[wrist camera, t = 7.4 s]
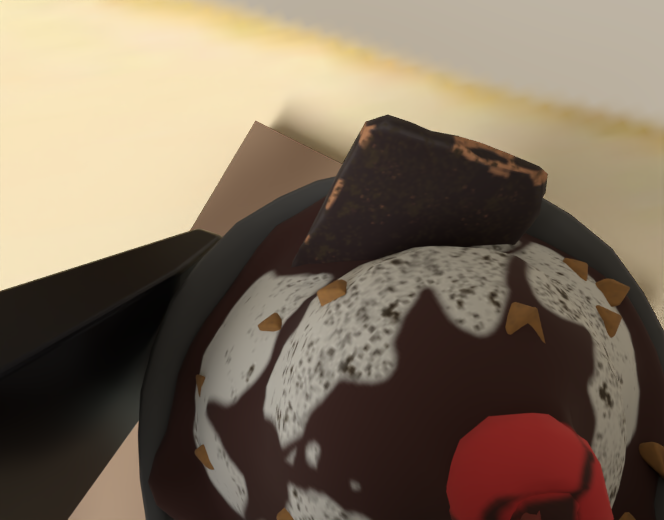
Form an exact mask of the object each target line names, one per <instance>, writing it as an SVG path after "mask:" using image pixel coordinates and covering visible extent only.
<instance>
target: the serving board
mask: <svg viewBox="0 0 664 520" xmlns="http://www.w3.org/2000/svg"><path fill="white" fill-rule="evenodd" d="M341 166H342V164H341V163H339V162H337V161H335V160H333V159H331V158H329V157H327V156H325V155H323V154H321V153H319V152H317V151H315V150H313V149H311V148H309V147H307V146H305V145H303V144H301V143H299V142H297V141H295V140H293V139H291V138H289V137H287V136H285V135H283V134H281V133H279V132H277V131H275V130H273V129H271V128H269V127H267V126H265V125H263V124H261V123H259V122H257V121H255V122H254V124H253V126H252V128H251V129H250V131H249V133H248V134H247V136H246V138H245V139H244V141H243V143H242V144H241V146H240V148H239V149H238V151H237V153H236V154H235V156H234V158H233V159H232V161H231V163H230V164H229V166H228V168H227V169H226V171H225V173H224V175H223V176H222V178H221V180H220V181H219V183H218V185H217V186H216V188H215V190H214V191H213V193H212V195H211V196H210V198H209V200H208V201H207V203H206V205H205V206H204V208H203V210H202V211H201V213H200V215H199V217H198V218H197V220H196V222H195V223H194V225H193V227H192V228H191V230H194V229H204V230H207V231H209V232H212V233H215V234H218V235H221V236H222V237H223V236H224V235H225V234H226V233H227V232H228V231H229V230H230V229H231V228H232V227H233V226H234V225H235V224H236V223H237V222H238V221H240V220H242V219H243V218H245V217H247V216H248V215H250V214H252V213H253V212H255V211H257V210H258V209H260V208H262V207H263V206H265V205H267V204H268V203H270V202H272V201H273V200H275V199H277V198H278V197H280V196H283V195H285V194H287V193H289V192H292V191H294V190H296V189H298V188H301V187H303V186H305V185H308V184H310V183H312V182H314V181H317V180H321V179H326V178H330V177H334V176H336V175H337V173H338V171H339V170H340V168H341ZM191 230H190V231H191ZM138 424H139V421H138V423H137V424H136V425H135V427H134V428H133V430H132V431H131V432H130V434H129V435H128V436H127V438H126V439H125V441H124V442H123V443H122V445H121V446H120V448H119V449H118V450H117V452H116V453H115V455H114V456H113V457H112V459H111V460H110V462H109V463H108V464H107V466H106V467H105V469H104V470H103V471H102V473H101V474H100V476H99V477H98V478H97V480H96V481H95V482H94V484H93V485H92V487H91V488H90V489H89V491H88V492H87V494H86V495H85V496H84V498H83V499H82V501H81V502H80V503H79V505H78V506H77V508H76V509H75V510H74V512H73V513H72V515H71V516H70V517H69V519H68V520H146V518H145V511H144V505H143V498H142V491H141V485H140V475H139V453H138Z"/></svg>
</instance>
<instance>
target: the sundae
mask: <svg viewBox="0 0 664 520" xmlns="http://www.w3.org/2000/svg"><path fill="white" fill-rule="evenodd" d="M547 175H548V174H547V173H546V172H545V171H544V170H543V169H542V168H540V167H539V166H537V165H534V164H532V163H530V162H527V161H525V160H522V159H520V158H518V157H515V156H513V155H510V154H508V153H505V152H503V151H500V150H498V149H495V148H493V147H490V146H487V145H485V144H482V143H479V142H476V141H473V140H469V139H466V138H462V137H459V136H455V135H449V134H444V133H439V132H433V131H430V130H427V129H425V128H423V127H420V126H418V125H416V124H413V123H411V122H408V121H405V120H402V119H399V118H396V117H393V116H390V115H385V116H382V117H379V118H376V119H373V120H369V121H366V122H365V124H364V126H363V128H362V129H361V131H360V133H359V135H358V136H357V138H356V140H355V142H354V144H353V145H352V147H351V149H350V151H349V153H348V155H347V157H346V158H345V160H344V162H343V164H342V166H341V168H340V170H339V171H338V173H337V175H336V176H334V177H330V178H326V179H321V180H317V181H314V182H312V183H310V184H308V185H305V186H303V187H301V188H298V189H296V190H294V191H292V192H289V193H287V194H285V195H283V196H280V197H278V198H277V199H275V200H273V201H272V202H270V203H268V204H267V205H265V206H263V207H262V208H260V209H258V210H257V211H255V212H253V213H252V214H250V215H248V216H247V217H245V218H243V219H242V220H240V221H238V222H237V223H236V224H235V225H234V226H233V227H232V228H231V229H230V230H229V231H228V232H227V233H226V234H225V235H224V236H223V237H222V238H221V239H220V240H219V241H218V242H217V243H216V244H215V245H214V246H213V247H212V248H211V249H210V250H209V251H208V252H207V253H206V254H205V255H204V256H203V257H202V258H201V260H200V261H199V262H198V264H197V265H196V266H195V268H194V269H193V271H192V272H191V273H190V275H189V276H188V277H187V279H186V280H185V282H184V283H183V284H182V286H181V287H180V288H179V290H178V291H177V293H176V294H175V295H174V297H173V298H172V299H171V301H170V303H169V306H168V308H167V311H166V313H165V316H164V318H163V321H162V324H161V326H160V329H159V331H158V334H157V336H156V339H155V341H154V344H153V346H152V349H151V353H150V356H149V360H148V364H147V368H146V372H145V376H144V380H143V384H142V388H141V392H140V407H139V424H138V453H139V475H140V485H141V491H142V498H143V505H144V511H145V518H146V520H664V330H663V328H662V326H661V324H660V323H659V321H658V319H657V317H656V315H655V313H654V311H653V309H652V307H651V306H650V304H649V302H648V300H647V298H646V296H645V294H644V292H643V291H642V290H641V288H640V287H639V285H638V284H637V283H636V281H635V280H634V278H633V277H632V276H631V274H630V273H629V271H628V270H627V269H626V267H625V266H624V264H623V263H622V262H621V260H620V259H619V257H618V256H617V255H616V253H615V252H614V250H613V249H612V248H611V247H609V246H608V245H607V244H606V243H605V242H603V241H602V240H601V239H600V238H599V237H597V236H596V235H595V234H594V233H593V232H591V231H590V230H589V229H588V228H586V227H585V226H584V225H583V224H582V223H580V222H579V221H578V220H577V219H576V218H574V217H573V216H572V215H570V214H569V213H567V212H565V211H564V210H562V209H560V208H559V207H557V206H555V205H554V204H552V203H550V202H549V201H547V200H545V199H544V198H543V196H544V194H545V191H546V183H547Z"/></svg>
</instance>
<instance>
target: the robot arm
mask: <svg viewBox="0 0 664 520" xmlns="http://www.w3.org/2000/svg"><path fill="white" fill-rule="evenodd" d="M221 238H222V236H221V235H218V234H215V233H212V232H209V231H207V230H204V229H194V230H191V231H188V232H185V233H182V234H179V235H175V236H172V237H169V238H166V239H163V240H160V241H156V242H153V243H150V244H147V245H144V246H141V247H138V248H134V249H131V250H128V251H125V252H122V253H119V254H115V255H112V256H109V257H106V258H103V259H100V260H97V261H93V262H90V263H87V264H84V265H81V266H78V267H74V268H71V269H68V270H65V271H62V272H59V273H55V274H52V275H49V276H46V277H43V278H40V279H37V280H33V281H30V282H27V283H24V284H21V285H18V286H14V287H11V288H8V289H5V290H2V291H0V520H68V519H69V517H70V516H71V515H72V513H73V512H74V510H75V509H76V508H77V506H78V505H79V503H80V502H81V501H82V499H83V498H84V496H85V495H86V494H87V492H88V491H89V489H90V488H91V487H92V485H93V484H94V482H95V481H96V480H97V478H98V477H99V476H100V474H101V473H102V471H103V470H104V469H105V467H106V466H107V464H108V463H109V462H110V460H111V459H112V457H113V456H114V455H115V453H116V452H117V450H118V449H119V448H120V446H121V445H122V443H123V442H124V441H125V439H126V438H127V436H128V435H129V434H130V432H131V431H132V430H133V428H134V427H135V425H136V424H137V423H138V421H139V407H140V392H141V388H142V384H143V380H144V376H145V372H146V368H147V364H148V360H149V356H150V353H151V349H152V346H153V344H154V341H155V339H156V336H157V334H158V331H159V329H160V326H161V324H162V321H163V318H164V316H165V313H166V311H167V308H168V306H169V303H170V301H171V299H172V298H173V297H174V295H175V294H176V293H177V291H178V290H179V288H180V287H181V286H182V284H183V283H184V282H185V280H186V279H187V277H188V276H189V275H190V273H191V272H192V271H193V269H194V268H195V266H196V265H197V264H198V262H199V261H200V260H201V258H202V257H203V256H204V255H205V254H206V253H207V252H208V251H209V250H210V249H211V248H212V247H213V246H214V245H215V244H216V243H217V242H218V241H219V240H220V239H221Z"/></svg>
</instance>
